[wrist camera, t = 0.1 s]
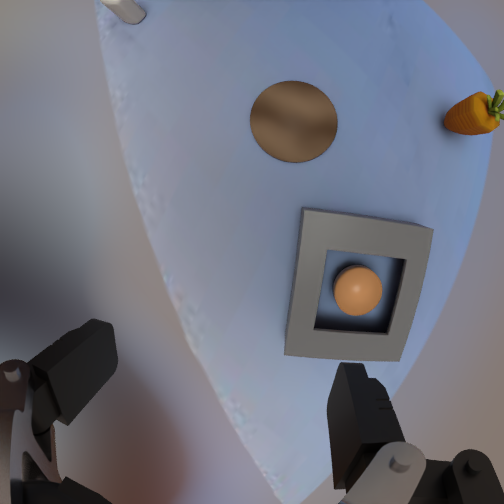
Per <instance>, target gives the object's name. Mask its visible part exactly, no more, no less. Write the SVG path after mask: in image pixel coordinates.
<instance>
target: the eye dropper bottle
mask: <svg viewBox="0 0 504 504" xmlns="http://www.w3.org/2000/svg"><path fill="white" fill-rule="evenodd" d="M100 1H101V2H102V3H103V4H104V5H105V6H106V7H107V8H109V9H110V10H111V11H112V12H113V13H115V14H116V15H117V16H118V17H119V18H120V19H122V20H123V21H124V22H126V23H129V24H137V23H139V22H140V21H141V20H142V19H143V18H144V17H145V16H146V13H145V11H144V10H143V9H142V8H141V7H140V6H139V5H138V4H137V3H136V2H135V1H134V0H100Z"/></svg>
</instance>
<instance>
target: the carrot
mask: <svg viewBox="0 0 504 504" xmlns="http://www.w3.org/2000/svg"><path fill="white" fill-rule="evenodd" d="M503 97H504V93H503V92H502V90H497V91H496V93H495V96H494V98H493V99H492V98H491V97H490V95H486V94H485V93H483V92H477V93H475V94H473V95H471V96H469V97H467V98H466V99H464V100H462V101H461V102H459V103H457V104H456V105H454V106H453V107H452V108H451V109H450V110H449V111H448V112H447V114H446V116H445V120H444V126H445V127H446V128H447V129H449V130H451V131H453V132H455V133H458V134H463V135H478V134H485V133H490V132H491V131H493V130H494V129H495V128H497V127H498V126H499V125H500V124H499V123H500V119H503V120H504V114H501V113H500V112H501V111H502V110H504V100H503V102H502V103H501V101H502V99H503ZM500 103H501V105H500V106H499V107H497V106H498V105H499V104H500Z"/></svg>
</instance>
